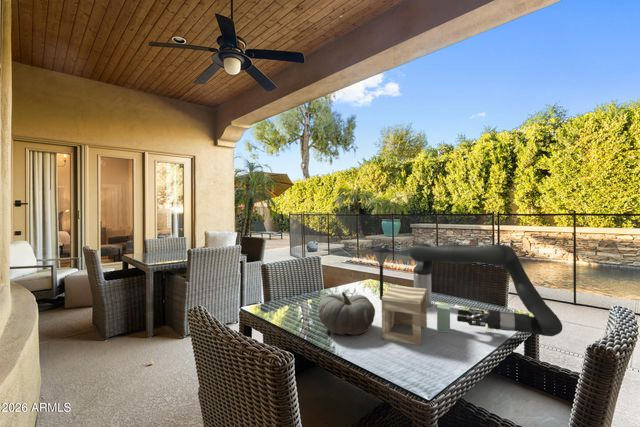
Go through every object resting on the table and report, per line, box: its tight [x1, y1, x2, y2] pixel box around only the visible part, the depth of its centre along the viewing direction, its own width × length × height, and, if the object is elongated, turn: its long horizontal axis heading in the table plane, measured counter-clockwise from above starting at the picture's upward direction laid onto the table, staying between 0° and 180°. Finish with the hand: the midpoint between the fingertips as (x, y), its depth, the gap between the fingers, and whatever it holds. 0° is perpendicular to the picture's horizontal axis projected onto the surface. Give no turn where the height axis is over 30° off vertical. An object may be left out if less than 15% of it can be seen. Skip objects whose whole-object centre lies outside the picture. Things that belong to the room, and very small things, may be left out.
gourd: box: [318, 291, 376, 336], centre depth 141 cm, size 25×25×17 cm
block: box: [436, 304, 451, 334], centre depth 139 cm, size 5×5×10 cm
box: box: [381, 285, 428, 346], centre depth 136 cm, size 20×15×17 cm
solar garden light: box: [370, 246, 392, 301], centre depth 185 cm, size 12×12×30 cm
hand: (457, 315), depth 137 cm, fingers open, 8 cm apart
